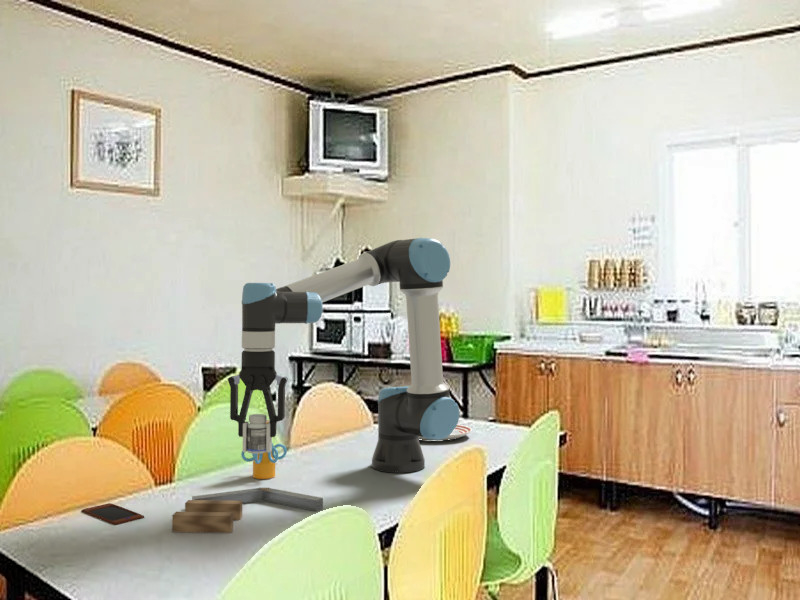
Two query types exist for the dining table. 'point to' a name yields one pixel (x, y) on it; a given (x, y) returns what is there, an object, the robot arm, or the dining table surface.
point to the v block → (268, 498)
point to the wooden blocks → (207, 516)
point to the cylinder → (265, 462)
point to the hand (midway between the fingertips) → (257, 450)
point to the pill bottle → (256, 434)
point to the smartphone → (113, 514)
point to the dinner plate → (463, 431)
